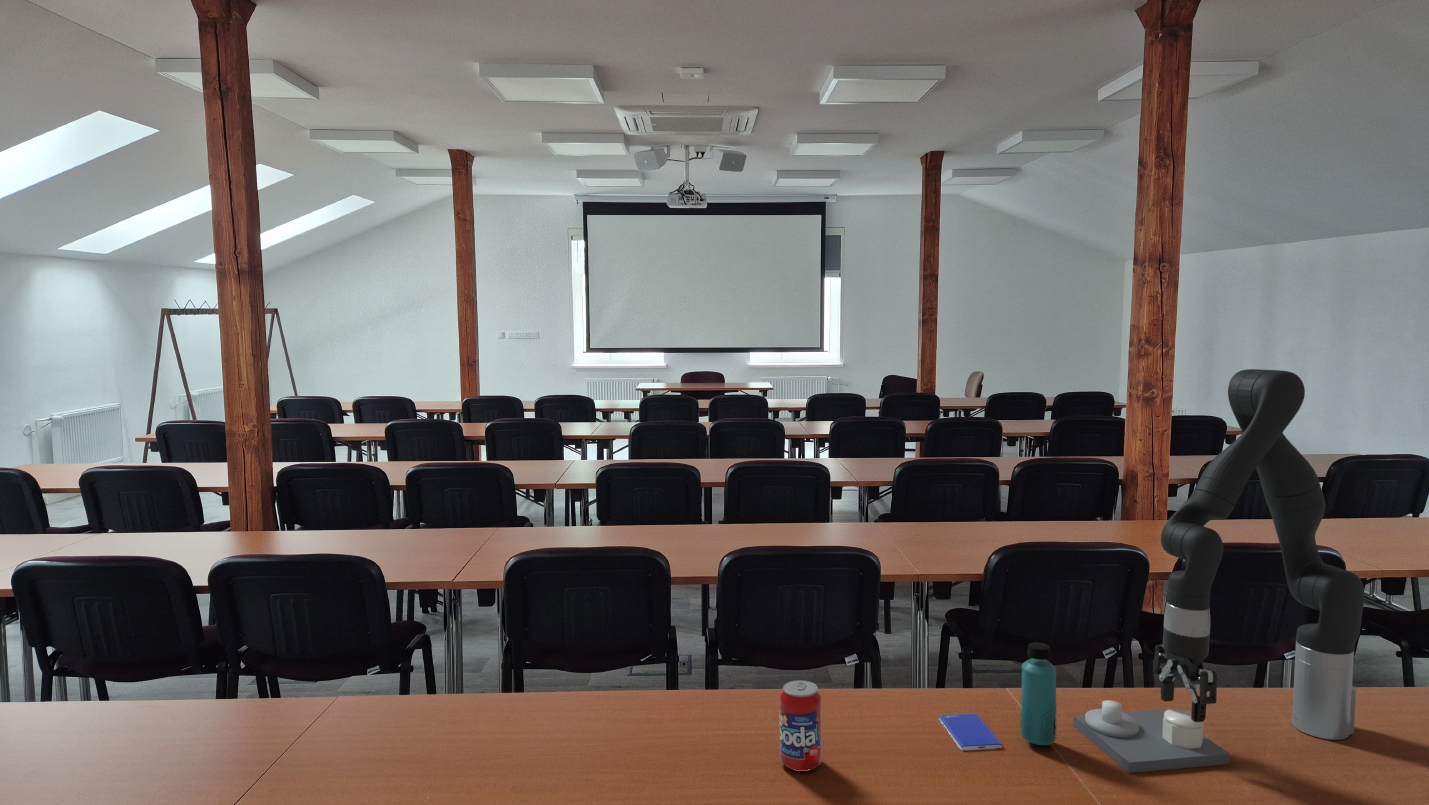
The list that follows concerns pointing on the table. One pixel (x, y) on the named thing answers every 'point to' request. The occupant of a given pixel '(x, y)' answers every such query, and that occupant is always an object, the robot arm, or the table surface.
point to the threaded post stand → (1143, 740)
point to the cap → (1182, 729)
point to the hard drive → (970, 732)
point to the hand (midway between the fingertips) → (1181, 710)
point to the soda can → (800, 725)
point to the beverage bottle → (1038, 696)
